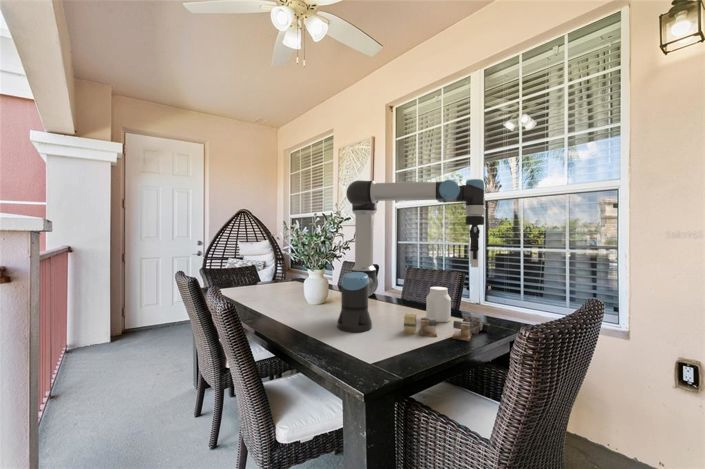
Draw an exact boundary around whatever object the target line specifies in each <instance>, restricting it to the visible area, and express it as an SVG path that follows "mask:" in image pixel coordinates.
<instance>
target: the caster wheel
mask: <svg viewBox="0 0 705 469" xmlns="http://www.w3.org/2000/svg"><path fill="white" fill-rule="evenodd" d="M461 322H470V332H471V333H472V334H474V335H479V332H480V331H485V332H488V331H489V326H490V325H489V324H487V323H485V322H482V318H480V317H476V316H472V315H470V314H464V316H463V319H462V321H461Z"/></svg>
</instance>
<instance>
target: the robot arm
mask: <svg viewBox="0 0 705 469" xmlns="http://www.w3.org/2000/svg"><path fill="white" fill-rule="evenodd" d="M485 183H486V182H485V180H484V179H482V178H470V179H467V180H466V181H465V183H464V184H459V183H458V182H457V181H456V180H453V179H445V180H435V181H434V180H433V181H429V180H428V181H404V182H403V181H402V182H400V181H399V182H396V181H395V182H376V181H375V180H361V179H360V180H354V181H352V182H351V183H350V184H349V185H348V187H347V188H346V198H347V200H348V202H349V203H350V204H351V205H352V206H351V211H352V213H353V214H354V215H355V219H354V220H355V222H354V227H355V230H354V231H355V232H354V233H355V234H354V235H355V236H354V237H355V239H354V241H355V242H354V265H353V267H351V272H346V273H344V274H343V275H342V277H341V283H340V284H341V307H340V308H341V310H340V313H339V316H338V319H337V325H336V326H337V329H338V330H340V331H343V332H348V333H361V332H367V331H369V330H371V329H372V326H373V322H372V319H371V316H370V312H369V297H370V296H372V295H373V294H375V293H376V291H377V289H378V286H379V278H378V277H377V268H376V267H375V266H374V215H375V214H377V211H378V207H377V204H378V203H379V202H386V201H387V202H388V201H389V202H392V201H437V202H438V203H444V204H445V203H465V210H464V211H465V213H464V214H465V218H464V220H465V225H466V226H470V229H469V238H470V245H469V264H470V268H479V250H480V247H479V239H480V232H481V231H480V228H479V227H478V226H484V224H485V216H484V215H485V211H486V209H487V208H486V207H485V197H486V196H485V195H486V194H485V193H486V192H485V191H486V190H485V189H486V188H485Z"/></svg>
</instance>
